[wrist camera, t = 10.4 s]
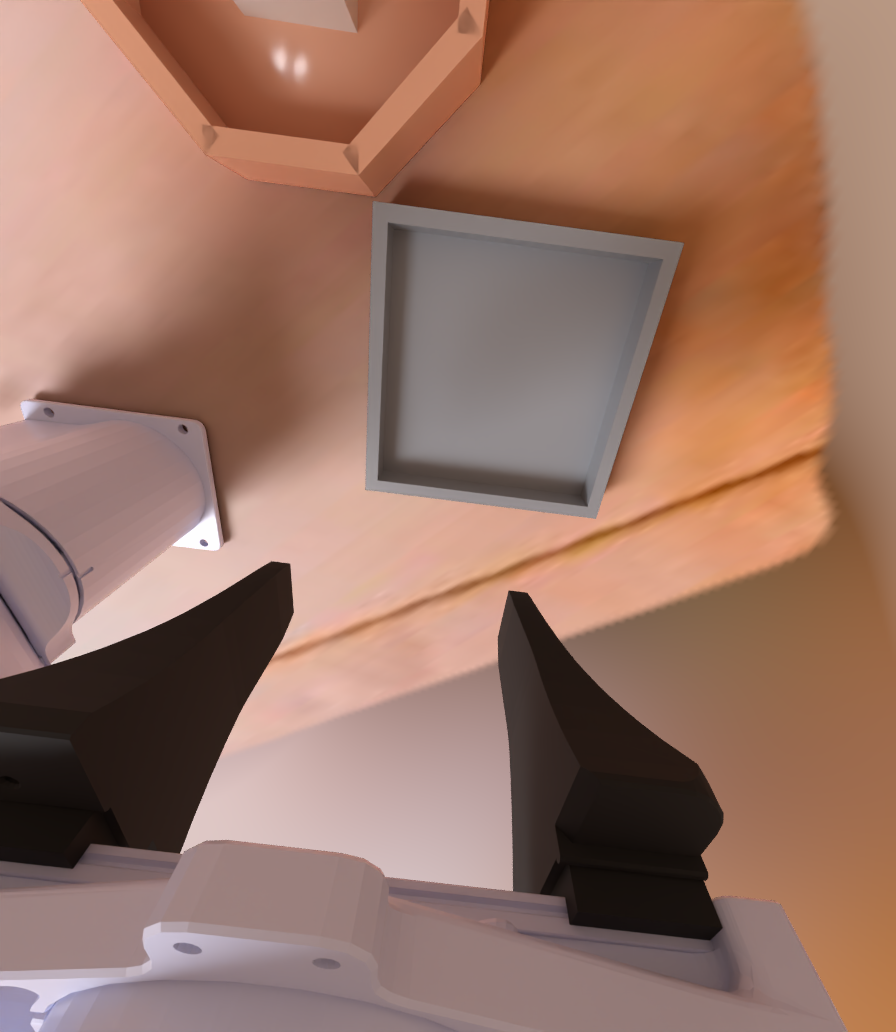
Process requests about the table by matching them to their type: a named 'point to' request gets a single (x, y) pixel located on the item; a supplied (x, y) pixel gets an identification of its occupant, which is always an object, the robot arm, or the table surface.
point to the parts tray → (505, 355)
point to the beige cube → (305, 12)
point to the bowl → (305, 83)
